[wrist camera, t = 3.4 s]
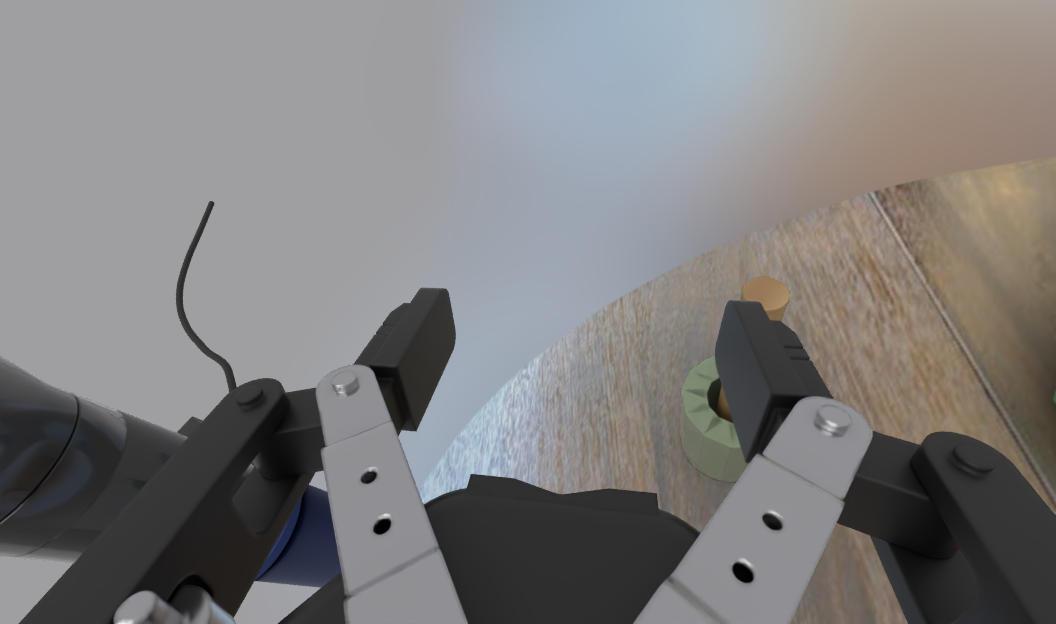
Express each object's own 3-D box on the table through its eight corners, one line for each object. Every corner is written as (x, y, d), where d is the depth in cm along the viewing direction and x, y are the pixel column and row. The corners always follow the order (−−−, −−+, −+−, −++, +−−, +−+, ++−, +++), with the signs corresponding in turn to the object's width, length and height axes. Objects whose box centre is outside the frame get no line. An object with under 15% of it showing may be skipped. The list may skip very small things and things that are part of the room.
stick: (707, 440, 33) (736, 302, 18) (715, 420, 33) (750, 272, 19) (732, 452, 32) (783, 315, 18) (740, 430, 32) (795, 283, 18)
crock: (667, 457, 34) (667, 419, 27) (697, 391, 36) (702, 342, 30) (753, 498, 31) (774, 466, 24) (778, 423, 33) (804, 376, 27)
